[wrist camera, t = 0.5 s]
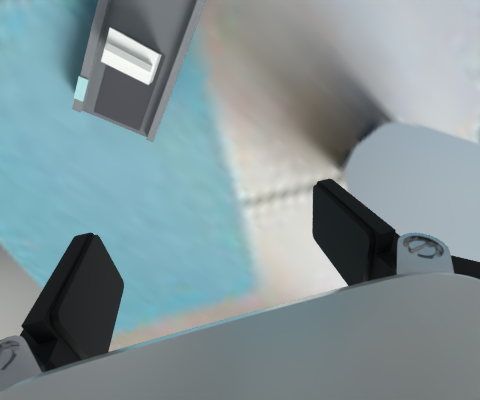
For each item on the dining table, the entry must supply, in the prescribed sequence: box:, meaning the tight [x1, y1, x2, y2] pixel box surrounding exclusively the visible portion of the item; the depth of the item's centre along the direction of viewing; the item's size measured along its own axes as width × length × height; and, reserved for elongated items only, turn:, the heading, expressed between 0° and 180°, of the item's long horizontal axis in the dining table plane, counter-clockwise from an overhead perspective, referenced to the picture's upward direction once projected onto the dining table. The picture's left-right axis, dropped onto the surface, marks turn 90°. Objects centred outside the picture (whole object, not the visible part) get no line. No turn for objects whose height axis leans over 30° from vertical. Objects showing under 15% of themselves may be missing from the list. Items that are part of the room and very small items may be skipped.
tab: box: [101, 28, 161, 85], centre depth 25 cm, size 3×4×5 cm
